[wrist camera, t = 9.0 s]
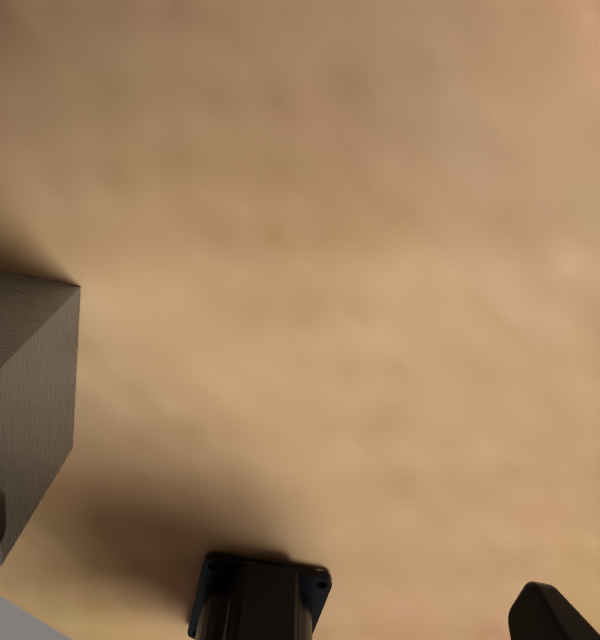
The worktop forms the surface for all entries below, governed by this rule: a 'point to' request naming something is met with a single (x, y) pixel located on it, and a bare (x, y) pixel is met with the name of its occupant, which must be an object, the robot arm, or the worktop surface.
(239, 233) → the worktop surface
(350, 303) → the worktop surface
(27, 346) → the block
